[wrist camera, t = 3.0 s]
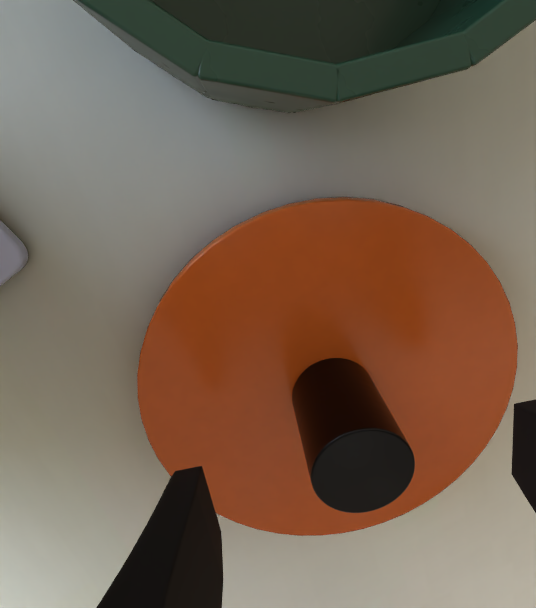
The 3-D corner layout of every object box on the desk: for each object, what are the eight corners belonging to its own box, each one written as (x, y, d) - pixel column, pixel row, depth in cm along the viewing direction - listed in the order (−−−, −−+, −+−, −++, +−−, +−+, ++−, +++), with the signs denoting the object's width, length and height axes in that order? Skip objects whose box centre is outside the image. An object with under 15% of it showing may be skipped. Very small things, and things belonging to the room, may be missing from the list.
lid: (283, 557, 17) (301, 693, 13) (62, 349, 13) (-11, 448, 9) (551, 395, 15) (668, 493, 11) (385, 103, 12) (472, 90, 7)
